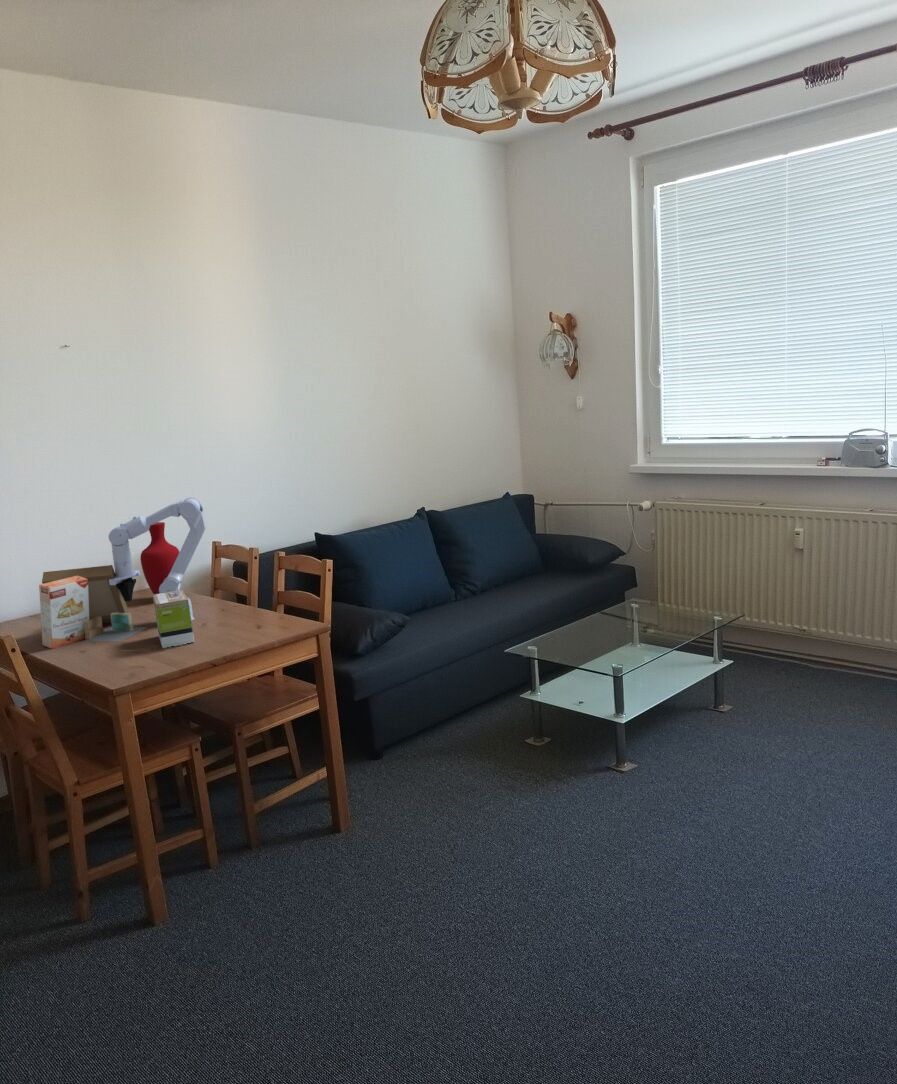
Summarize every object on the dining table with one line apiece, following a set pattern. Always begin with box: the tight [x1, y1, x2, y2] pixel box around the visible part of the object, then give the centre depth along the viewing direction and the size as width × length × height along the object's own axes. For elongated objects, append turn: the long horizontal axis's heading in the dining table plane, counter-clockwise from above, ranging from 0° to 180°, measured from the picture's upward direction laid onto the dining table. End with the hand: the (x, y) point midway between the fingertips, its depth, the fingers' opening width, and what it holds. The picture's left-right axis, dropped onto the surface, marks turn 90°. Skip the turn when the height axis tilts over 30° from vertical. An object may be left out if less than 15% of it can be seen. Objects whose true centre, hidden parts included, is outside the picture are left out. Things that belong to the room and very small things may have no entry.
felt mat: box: [82, 626, 149, 643], centre depth 284 cm, size 14×16×1 cm
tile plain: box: [84, 616, 104, 640], centre depth 282 cm, size 7×2×6 cm, turn 165°
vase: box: [140, 521, 180, 595], centre depth 329 cm, size 15×15×30 cm
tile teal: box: [110, 612, 134, 631], centre depth 287 cm, size 7×2×6 cm, turn 75°
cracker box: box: [38, 576, 89, 650], centre depth 276 cm, size 14×6×21 cm, turn 148°
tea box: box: [152, 589, 195, 649], centre depth 271 cm, size 15×10×15 cm
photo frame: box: [41, 564, 130, 624], centre depth 292 cm, size 15×22×25 cm
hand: (128, 600), depth 291 cm, fingers closed
